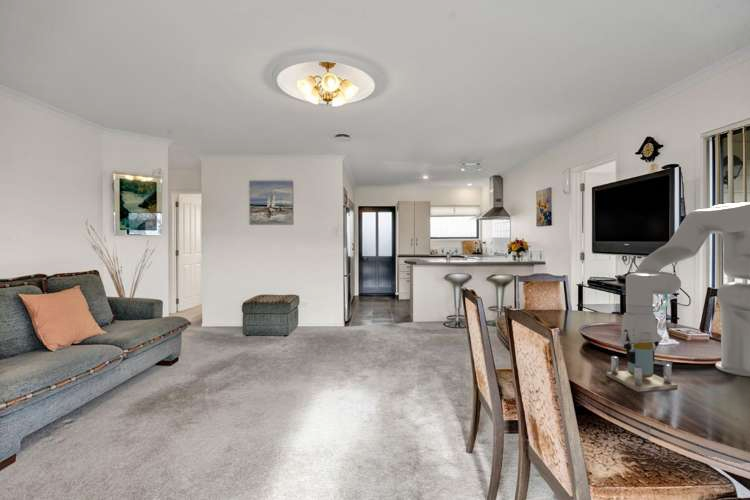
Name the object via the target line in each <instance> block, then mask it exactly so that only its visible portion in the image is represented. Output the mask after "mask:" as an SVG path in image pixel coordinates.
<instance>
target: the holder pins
mask: <svg viewBox="0 0 750 500" xmlns="http://www.w3.org/2000/svg"><path fill="white" fill-rule="evenodd" d="M610 358H611V359H610V362H611V372H612V374H614V375H618V371H619V357H618V356H615V355H612V356H611V357H610ZM671 366H672V365H669V364H664V365H663V369H664V375H663V379H664V383H666V384H672V382H673V381H672V367H671ZM634 374H635V386H638V387H642V368H641V367H638V366H635V367H634Z"/></svg>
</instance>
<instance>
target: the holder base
mask: <svg viewBox="0 0 750 500" xmlns="http://www.w3.org/2000/svg"><path fill="white" fill-rule="evenodd" d="M606 376H607V377H609V378H610V379H613V380H614V381H616V382H618V383H620V384H622V385H624V386H626V387H628V388H630V389H631V390H634V391H635V392H637V393H639V392H651V391H662V390H673V389H678V387H679V386H678V384H676V383H674V382H673V381H671V382H672V384H666V383H664V377H661V376H659V375H657V374H655V373H653V376H651V377H650V378H642V387H638V386H635V376H633V375H631V374H630V373H629V372H628V370H618V375H614V374H612V371H606Z"/></svg>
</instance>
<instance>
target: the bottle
mask: <svg viewBox="0 0 750 500" xmlns="http://www.w3.org/2000/svg"><path fill="white" fill-rule="evenodd" d="M629 346H631V344H630V343H629ZM633 352H635V364H633V363H630V362H628V361H627V371H628V372H629V373H630V374H631V375H633V376H635V374H634V367H635V366H638V367H641V368H642V378H650V377H651V376H653V374H654V373H653V368H654V363H653V345H652V343H651V333H640V340H639V343H638V344H635V348H634V351H633Z"/></svg>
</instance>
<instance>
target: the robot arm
mask: <svg viewBox="0 0 750 500" xmlns="http://www.w3.org/2000/svg"><path fill="white" fill-rule="evenodd" d="M713 234H714V235H717V234H719V235H720V236H721V238H722V243H723V246H722V247H723V258H722V259H723V261H722V262H723V264H722V265H723V266H722V267H723V268H722V269H723V272H724V274H725V275H726V276H727V277H728V278H729V277H730V278H732V279H736V280H737V279H739V280H746V281H750V202H749V201H748V202H739V203H738V202H737V203H724V204H717V205H716V204H715V205H712V206H710V207H708V208H703V209H695V210H692V211H690V212H689V213H688V214H686V215H685V217H684V218H683V220H682V222H681V223H680V225H679V226H678V228H677V229H676V231H675V232H674V234H673V235H672V236H671V238H670V240H669V241H668V242H667V243H665V244H664V245H662V246H661V247H658V248H657V249H656V250H654V251H653V252H651V253H649V254H647V256H645V258H644V259H643V260H642V261H641V263H640V264H639V265H638V266H637V268H636V270H635V272H633V273H632V272H631V273H628V274H626V276H625V303H626V304H625V307H626V309H625V310H626V312H624V313H623V315H622V321H621V331H620V332H621V333H620V334H621V336H620V337H619V338H618V339H617V343H619V344H620V346H622V348H623V349H624V350H625V351H626V352H625V353H626V355H625V356H626V362H627V363H628V362H630V363H633V364H635V352H633V351H634V348H635V344H638V343H639V340H640V333H651V343H652V345H653V362H654V361H655V360H656V359H655V351H656V350H657V347H658V346H660V345H659V344H660V343H661V342H662V340H663V337H662V336H661V335H660V334H659V332H658V322H657V319H656V318H657V317H656V314H655V313H654V310H656V306H655V304H654V295H664V296H666V295H672V294H676V293H677V292H678V291H680V289H681V286H682V280H681V279H680V277H679V276H678V275H676V274H674V273H671V272H666V271H661V270H662V269H664V268H665V267H667V266H669V265H671V264H674V263H677V262H678V263H679V262H681V261H685V260H687V259H690V258H693V257H695V256H696V255H697V254H698V252H699V251H700V249H701V248H702V246H703V245H704V243H705V241H706V240H707V238H708V237H709V236H710V235H713ZM716 299H717V302H718V305H719V309H720V339H721V340H720V341H721V342H720V343H721V345H720V349H721V350H720V351H721V352H720V353H721V355H720V356H721V357H720V358H721V359H720V360H721V361H717V362H716V363H715V367H716V369H718V370H720V371H721V372H725V373H728V374H732V375H735V376H741V377H750V283H746V282H738V281H737V282H726V283H723V284H722V285H720V286H719V287H718V289H717V293H716ZM629 343H630V344H631V346H629Z"/></svg>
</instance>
